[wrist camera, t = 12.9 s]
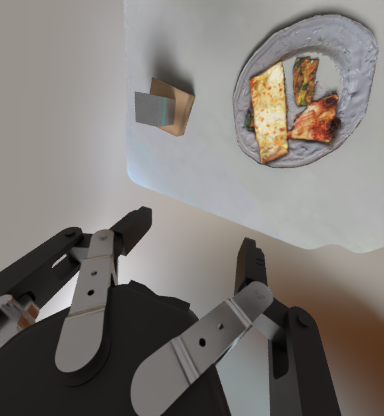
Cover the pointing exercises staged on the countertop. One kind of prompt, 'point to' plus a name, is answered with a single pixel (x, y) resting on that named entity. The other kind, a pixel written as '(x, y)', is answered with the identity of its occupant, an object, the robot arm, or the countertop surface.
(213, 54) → the countertop surface
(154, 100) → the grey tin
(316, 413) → the robot arm
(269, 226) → the countertop surface
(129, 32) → the countertop surface
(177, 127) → the tan block
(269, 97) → the food plate
